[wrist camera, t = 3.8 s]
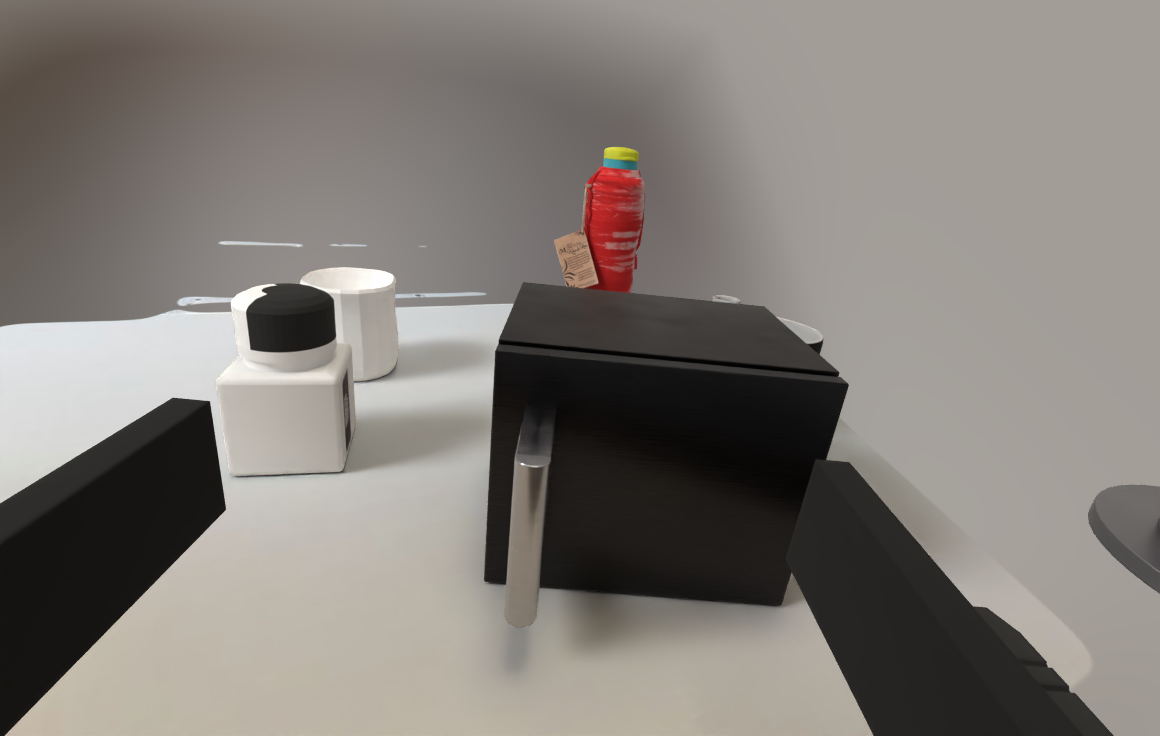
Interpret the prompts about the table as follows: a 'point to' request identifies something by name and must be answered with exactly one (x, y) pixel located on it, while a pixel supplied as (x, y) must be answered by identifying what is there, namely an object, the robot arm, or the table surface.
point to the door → (648, 475)
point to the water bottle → (607, 227)
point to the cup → (362, 316)
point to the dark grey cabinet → (657, 329)
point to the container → (286, 384)
